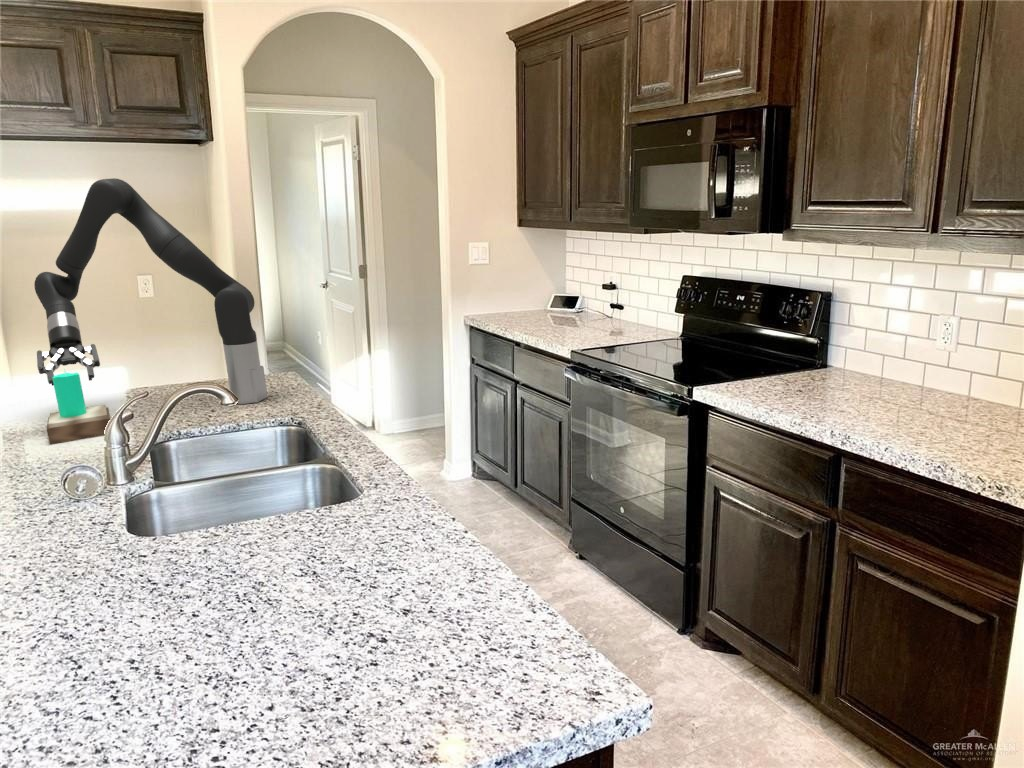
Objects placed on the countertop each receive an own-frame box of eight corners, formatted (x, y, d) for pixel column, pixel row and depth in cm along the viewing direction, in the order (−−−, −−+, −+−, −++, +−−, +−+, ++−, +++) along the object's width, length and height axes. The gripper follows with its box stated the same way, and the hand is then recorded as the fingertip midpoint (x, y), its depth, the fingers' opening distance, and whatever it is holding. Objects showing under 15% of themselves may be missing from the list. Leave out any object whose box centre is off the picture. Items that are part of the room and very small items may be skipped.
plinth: (110, 421, 206) (107, 403, 204) (112, 433, 194) (109, 414, 192) (51, 431, 199) (47, 413, 198) (49, 444, 187) (45, 425, 186)
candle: (78, 416, 192) (68, 371, 189) (55, 418, 192) (45, 372, 189) (91, 410, 198) (82, 366, 195) (69, 411, 198) (60, 367, 195)
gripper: (31, 327, 199) (38, 377, 191) (92, 321, 205) (101, 369, 198) (36, 344, 204) (42, 393, 197) (95, 337, 211) (103, 384, 204)
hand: (72, 381), depth 198 cm, fingers open, 8 cm apart
